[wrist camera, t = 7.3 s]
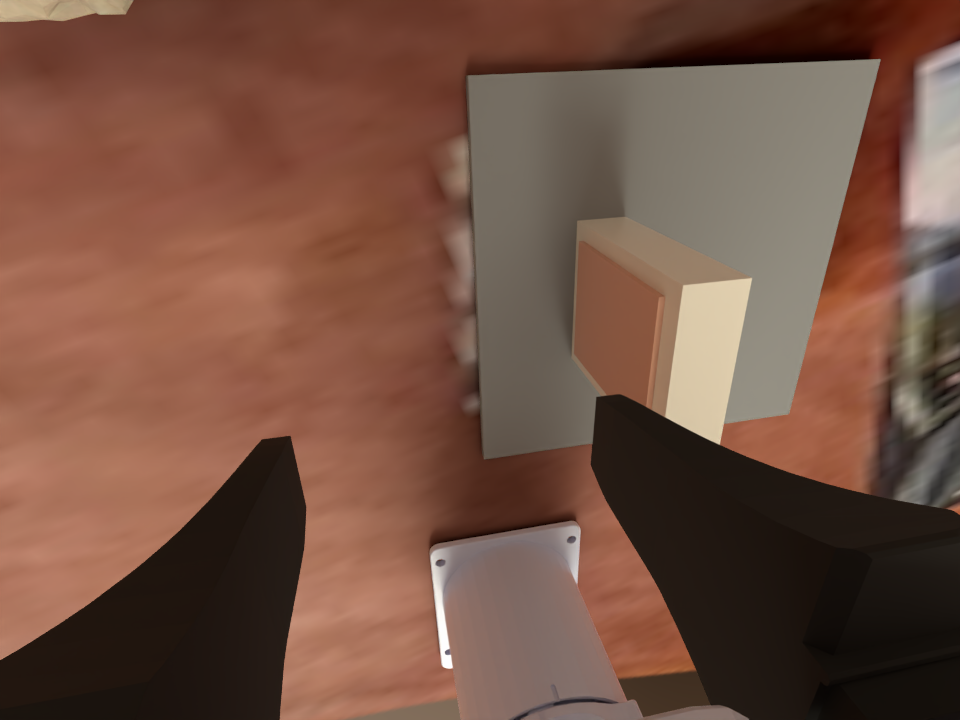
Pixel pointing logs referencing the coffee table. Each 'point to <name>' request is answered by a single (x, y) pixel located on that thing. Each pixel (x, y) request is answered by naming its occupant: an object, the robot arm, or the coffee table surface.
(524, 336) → the mat
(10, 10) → the small cream pillow
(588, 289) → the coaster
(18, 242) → the coffee table surface
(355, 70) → the coffee table surface
